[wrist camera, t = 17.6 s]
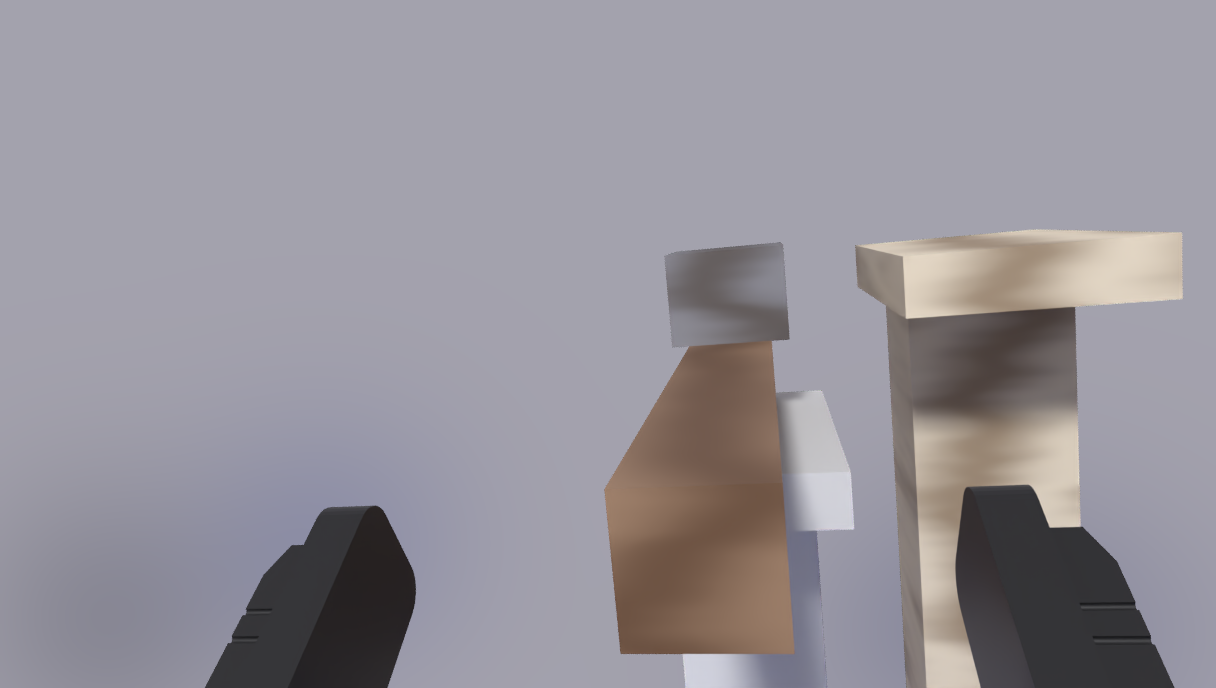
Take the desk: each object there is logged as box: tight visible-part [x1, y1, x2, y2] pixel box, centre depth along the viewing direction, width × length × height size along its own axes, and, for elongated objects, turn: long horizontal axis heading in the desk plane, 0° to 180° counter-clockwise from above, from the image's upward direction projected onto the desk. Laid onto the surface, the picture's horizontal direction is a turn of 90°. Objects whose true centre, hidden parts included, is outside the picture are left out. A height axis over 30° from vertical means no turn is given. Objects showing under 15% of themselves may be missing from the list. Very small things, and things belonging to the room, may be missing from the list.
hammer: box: [605, 242, 795, 654], centre depth 28 cm, size 5×25×8 cm, turn 170°
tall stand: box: [855, 230, 1183, 688], centre depth 34 cm, size 10×14×31 cm
